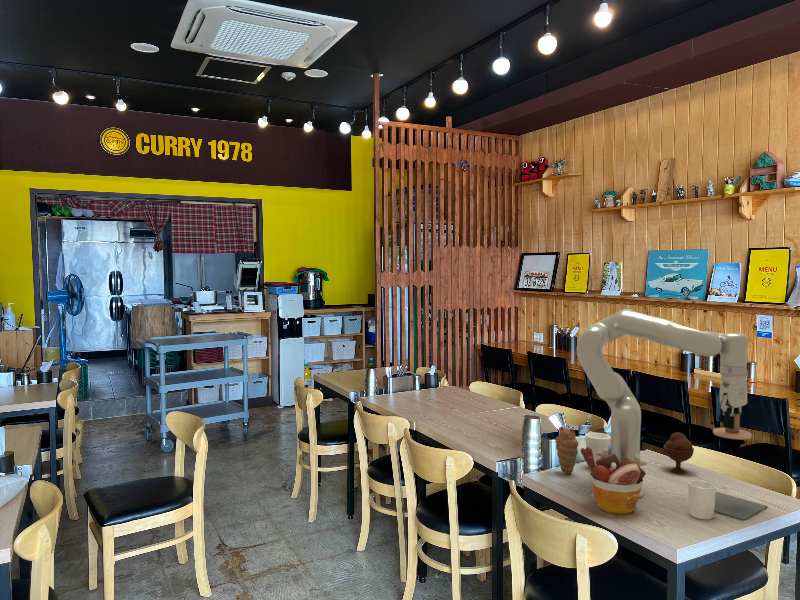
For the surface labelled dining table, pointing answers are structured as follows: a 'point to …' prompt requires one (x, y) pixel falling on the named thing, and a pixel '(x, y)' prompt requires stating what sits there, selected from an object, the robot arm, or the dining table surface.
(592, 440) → the foam cup
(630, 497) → the bucket of meat
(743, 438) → the lid
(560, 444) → the cat ice cream
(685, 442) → the ice cream bowl
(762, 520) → the dining table surface
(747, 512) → the mat
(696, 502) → the white cup
